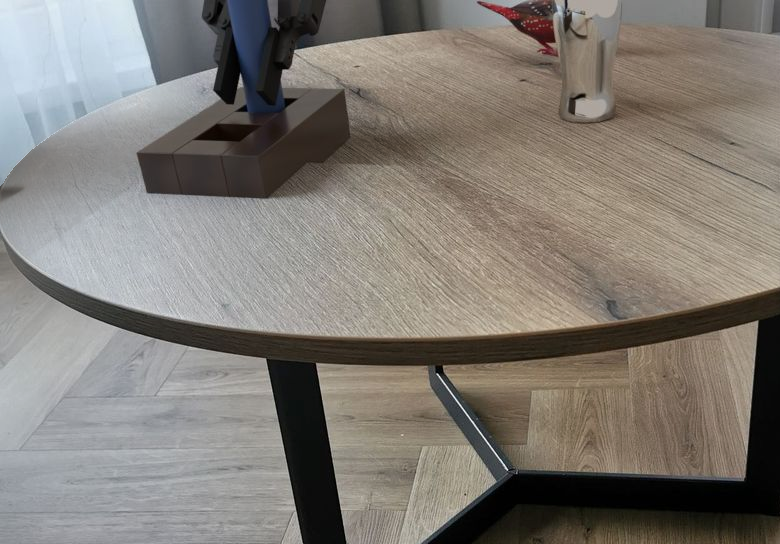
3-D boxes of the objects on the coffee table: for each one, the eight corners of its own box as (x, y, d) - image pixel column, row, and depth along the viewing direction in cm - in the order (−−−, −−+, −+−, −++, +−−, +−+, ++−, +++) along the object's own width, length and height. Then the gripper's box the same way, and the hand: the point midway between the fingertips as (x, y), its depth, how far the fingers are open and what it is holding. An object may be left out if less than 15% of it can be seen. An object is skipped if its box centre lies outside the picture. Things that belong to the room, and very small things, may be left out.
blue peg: (243, 123, 93) (218, -7, 86) (259, 112, 96) (236, -15, 89) (277, 124, 92) (254, -7, 86) (292, 113, 95) (271, -15, 89)
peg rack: (149, 206, 85) (135, 152, 83) (248, 133, 102) (239, 86, 99) (268, 211, 83) (258, 156, 80) (351, 136, 99) (344, 88, 97)
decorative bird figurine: (599, 62, 119) (599, -23, 114) (474, 52, 126) (468, -28, 121) (608, 56, 121) (608, -28, 116) (484, 47, 128) (479, -32, 123)
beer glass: (634, 115, 100) (637, -38, 93) (579, 129, 97) (578, -28, 90) (594, 100, 106) (594, -46, 98) (541, 113, 103) (537, -36, 95)
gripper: (381, -95, 96) (342, 119, 91) (230, -91, 99) (184, 114, 94) (356, -151, 89) (312, 78, 83) (194, -144, 92) (142, 75, 87)
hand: (244, 97), depth 89 cm, fingers closed on blue peg, 4 cm apart
